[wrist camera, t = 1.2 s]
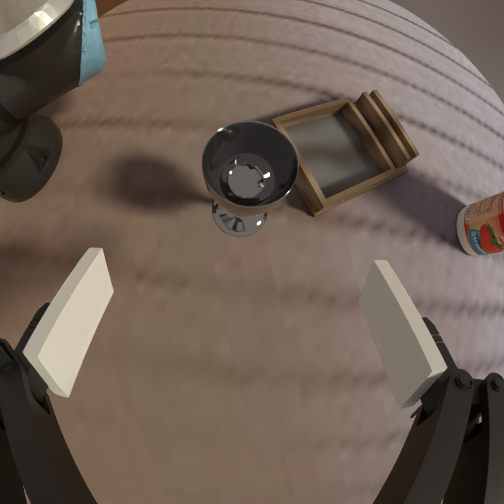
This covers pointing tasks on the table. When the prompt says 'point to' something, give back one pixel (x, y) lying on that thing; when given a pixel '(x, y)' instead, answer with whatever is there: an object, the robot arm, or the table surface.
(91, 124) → the table surface
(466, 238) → the fruit juice
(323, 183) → the wooden tray
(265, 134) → the silver goblet
